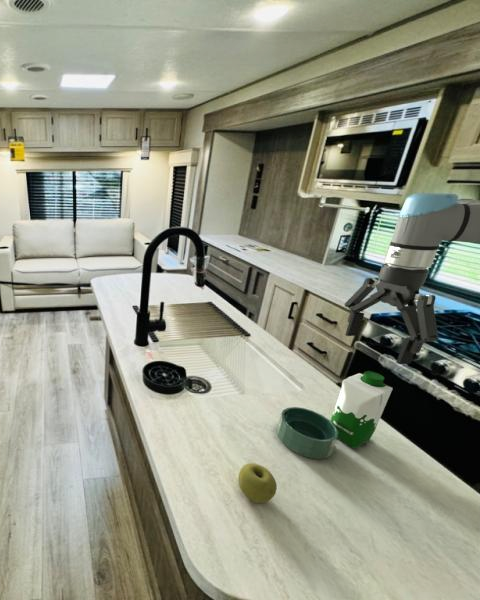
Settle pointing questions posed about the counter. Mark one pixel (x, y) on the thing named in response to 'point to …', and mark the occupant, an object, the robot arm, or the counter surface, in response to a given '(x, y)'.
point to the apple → (257, 483)
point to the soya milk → (360, 407)
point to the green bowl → (307, 432)
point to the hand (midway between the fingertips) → (374, 348)
